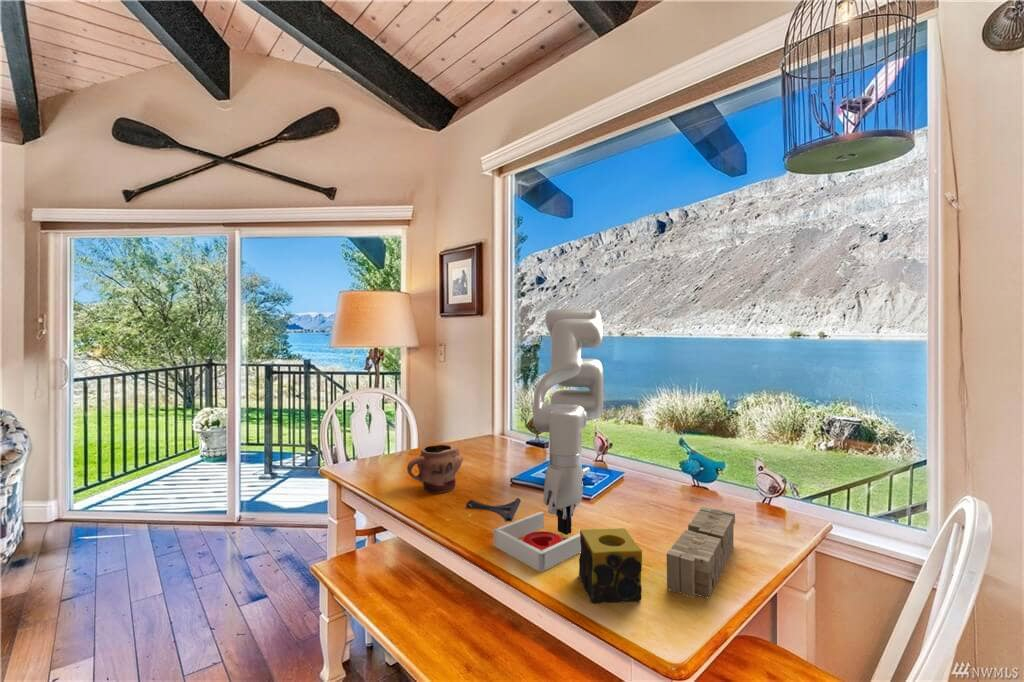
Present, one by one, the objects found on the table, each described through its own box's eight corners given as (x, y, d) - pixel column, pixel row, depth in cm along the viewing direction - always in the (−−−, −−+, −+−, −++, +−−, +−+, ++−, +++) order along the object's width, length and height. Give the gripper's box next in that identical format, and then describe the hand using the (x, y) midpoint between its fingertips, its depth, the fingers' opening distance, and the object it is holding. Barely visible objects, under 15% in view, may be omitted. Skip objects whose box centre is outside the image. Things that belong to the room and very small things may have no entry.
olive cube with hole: (578, 575, 94) (578, 528, 94) (625, 573, 95) (625, 526, 95) (590, 605, 84) (590, 552, 84) (642, 602, 85) (643, 550, 85)
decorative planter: (420, 503, 134) (420, 457, 134) (398, 493, 142) (398, 450, 142) (471, 487, 149) (471, 445, 148) (448, 478, 157) (448, 439, 157)
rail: (540, 526, 118) (540, 511, 118) (589, 548, 106) (589, 531, 106) (493, 546, 108) (493, 529, 107) (541, 572, 96) (541, 554, 95)
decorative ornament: (520, 544, 109) (520, 531, 109) (559, 542, 110) (559, 530, 110) (523, 564, 100) (523, 550, 99) (566, 562, 100) (566, 548, 100)
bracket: (473, 500, 139) (473, 491, 139) (520, 503, 136) (520, 494, 136) (459, 519, 124) (459, 509, 124) (511, 523, 122) (511, 513, 122)
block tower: (707, 608, 85) (736, 544, 108) (707, 565, 84) (736, 510, 108) (665, 594, 90) (701, 535, 113) (665, 552, 89) (702, 503, 113)
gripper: (573, 451, 120) (573, 519, 120) (532, 462, 110) (532, 536, 110) (595, 457, 114) (595, 528, 115) (554, 469, 104) (554, 547, 105)
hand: (564, 532), depth 112 cm, fingers closed
